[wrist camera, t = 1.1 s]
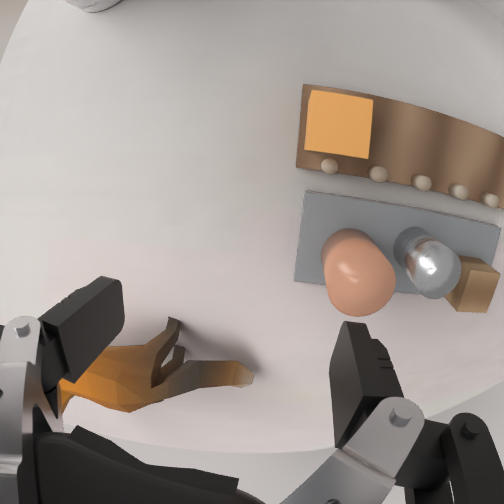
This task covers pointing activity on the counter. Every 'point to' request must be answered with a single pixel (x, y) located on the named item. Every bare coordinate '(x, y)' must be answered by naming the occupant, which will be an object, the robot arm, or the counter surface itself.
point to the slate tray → (383, 232)
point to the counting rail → (417, 151)
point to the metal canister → (427, 262)
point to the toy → (150, 374)
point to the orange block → (338, 124)
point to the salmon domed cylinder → (356, 273)
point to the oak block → (473, 286)
